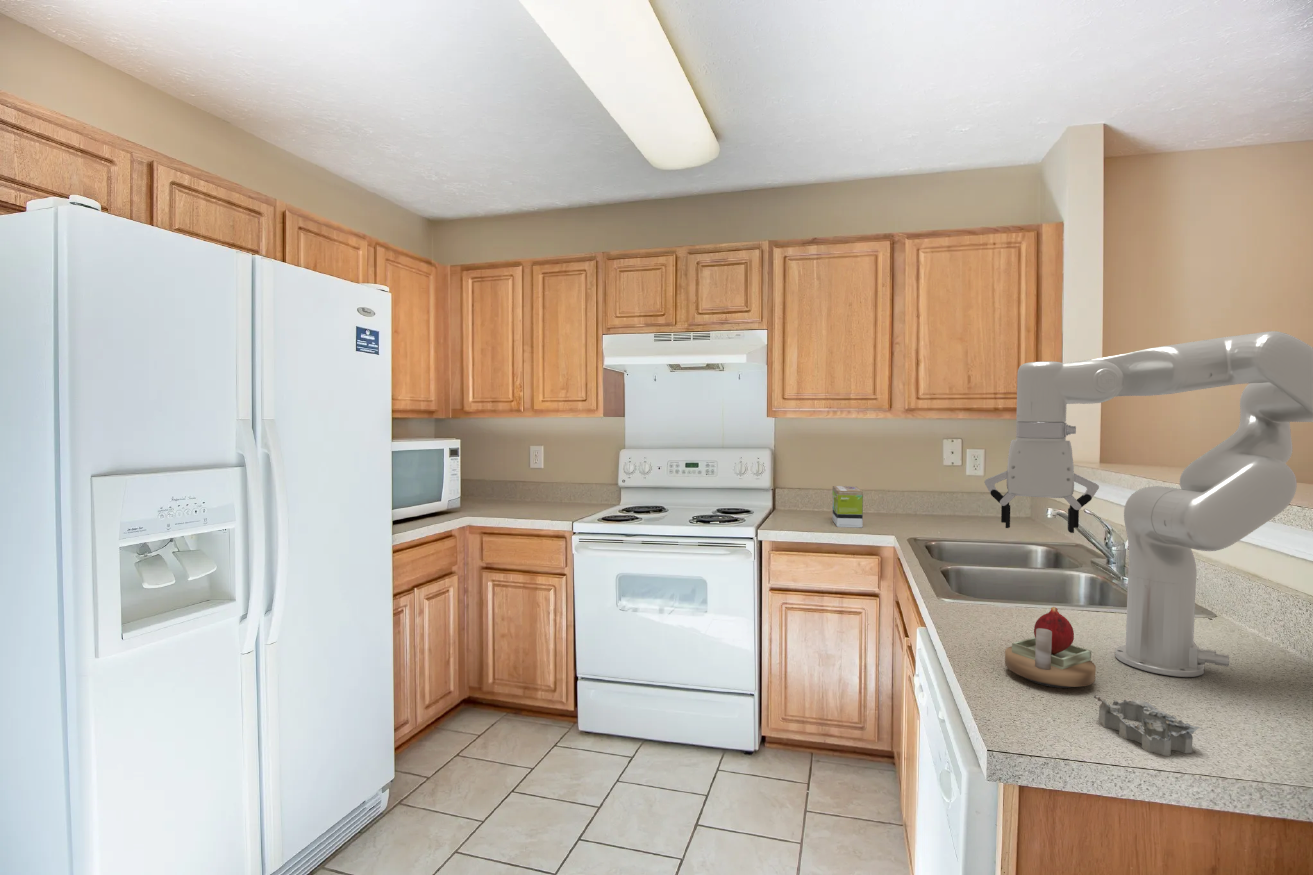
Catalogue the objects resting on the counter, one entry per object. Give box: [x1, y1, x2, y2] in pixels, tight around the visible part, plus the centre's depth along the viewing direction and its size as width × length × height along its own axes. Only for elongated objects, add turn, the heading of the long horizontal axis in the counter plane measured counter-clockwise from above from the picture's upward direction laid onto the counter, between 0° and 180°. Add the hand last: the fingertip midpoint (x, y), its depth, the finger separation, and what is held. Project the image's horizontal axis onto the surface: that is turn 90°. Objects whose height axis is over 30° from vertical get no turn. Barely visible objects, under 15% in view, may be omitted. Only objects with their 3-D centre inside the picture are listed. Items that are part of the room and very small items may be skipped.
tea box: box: [832, 485, 864, 529], centre depth 259 cm, size 15×10×15 cm, turn 172°
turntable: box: [1004, 628, 1097, 688], centre depth 109 cm, size 13×13×8 cm
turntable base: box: [1023, 677, 1071, 689], centre depth 109 cm, size 8×8×1 cm
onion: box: [1033, 606, 1075, 654], centre depth 109 cm, size 6×6×8 cm
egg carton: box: [1093, 694, 1200, 757], centre depth 90 cm, size 11×8×4 cm
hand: (1038, 529), depth 114 cm, fingers open, 9 cm apart
